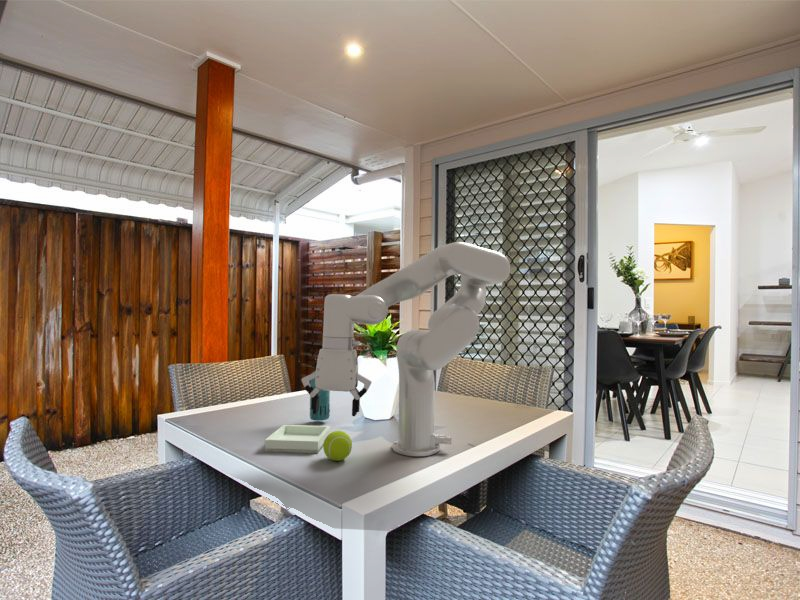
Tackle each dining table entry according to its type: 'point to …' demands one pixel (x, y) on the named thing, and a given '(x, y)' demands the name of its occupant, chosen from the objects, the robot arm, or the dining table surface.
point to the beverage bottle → (320, 402)
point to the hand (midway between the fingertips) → (335, 413)
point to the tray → (297, 439)
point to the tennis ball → (337, 445)
